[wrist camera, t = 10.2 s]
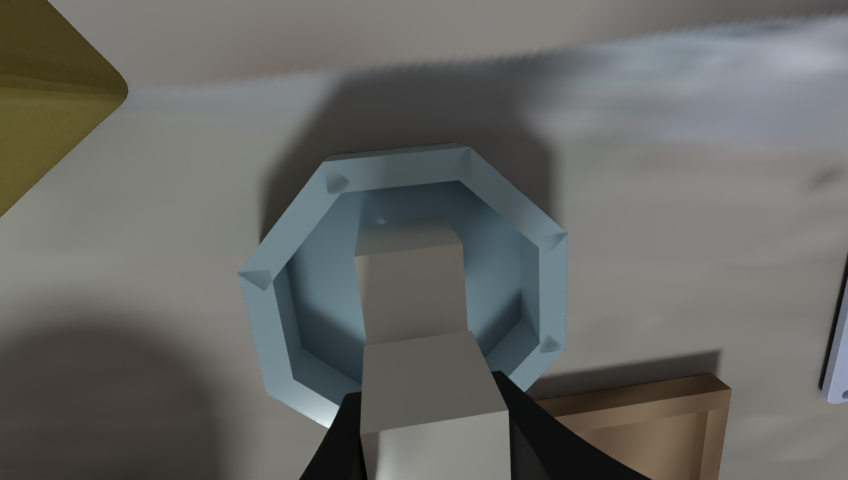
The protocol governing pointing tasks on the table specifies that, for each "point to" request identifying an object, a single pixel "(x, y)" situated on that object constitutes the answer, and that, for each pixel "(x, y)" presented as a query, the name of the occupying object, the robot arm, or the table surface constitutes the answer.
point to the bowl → (337, 279)
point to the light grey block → (410, 280)
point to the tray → (653, 425)
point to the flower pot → (46, 93)
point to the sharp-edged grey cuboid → (432, 412)
